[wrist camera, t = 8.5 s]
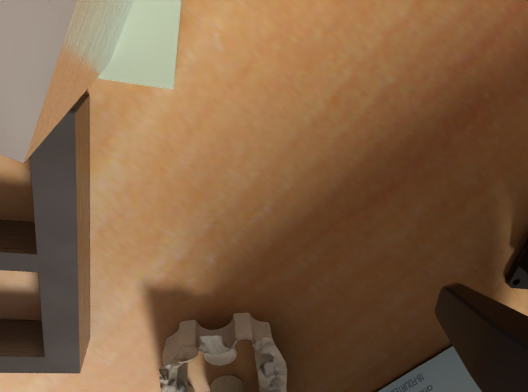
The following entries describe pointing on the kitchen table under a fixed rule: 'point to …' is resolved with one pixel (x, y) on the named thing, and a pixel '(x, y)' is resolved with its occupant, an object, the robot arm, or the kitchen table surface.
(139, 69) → the green mat
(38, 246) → the dark grey flat frame
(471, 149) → the kitchen table surface
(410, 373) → the gum box
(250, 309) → the kitchen table surface
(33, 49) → the grey tall rectangular block
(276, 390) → the egg carton
